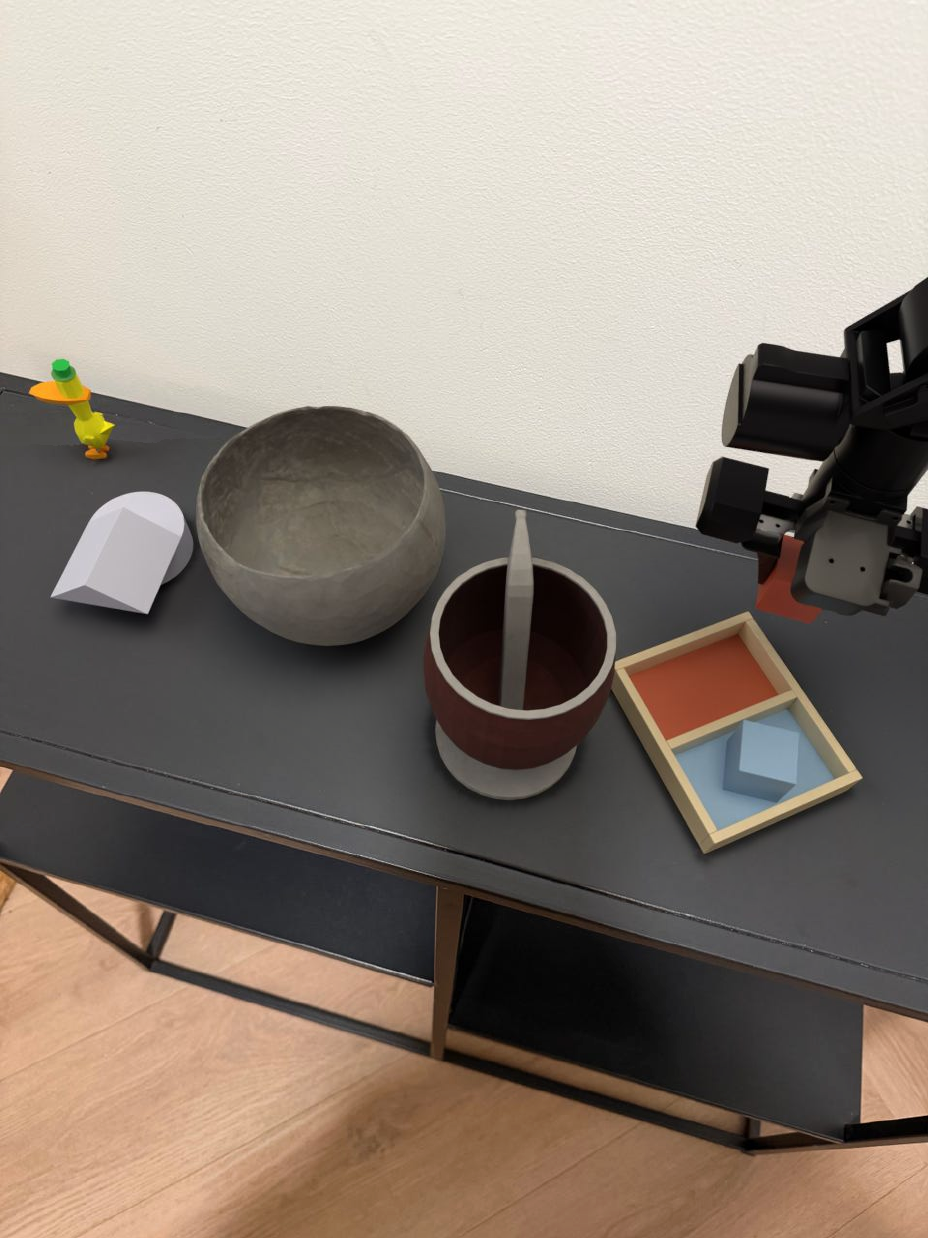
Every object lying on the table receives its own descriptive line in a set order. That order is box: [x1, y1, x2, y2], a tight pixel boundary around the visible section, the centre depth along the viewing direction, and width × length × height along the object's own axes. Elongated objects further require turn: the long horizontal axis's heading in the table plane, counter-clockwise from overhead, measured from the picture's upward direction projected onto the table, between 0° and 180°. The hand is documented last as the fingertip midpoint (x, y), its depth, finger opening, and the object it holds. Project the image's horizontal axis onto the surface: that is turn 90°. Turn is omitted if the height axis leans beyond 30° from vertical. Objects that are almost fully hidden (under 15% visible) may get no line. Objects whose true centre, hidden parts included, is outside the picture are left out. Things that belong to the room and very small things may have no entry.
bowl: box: [195, 405, 447, 647], centre depth 73 cm, size 20×20×15 cm
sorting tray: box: [611, 611, 863, 855], centre depth 71 cm, size 14×17×3 cm
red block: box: [755, 534, 823, 625], centre depth 67 cm, size 4×4×4 cm
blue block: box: [723, 720, 799, 802], centre depth 68 cm, size 4×4×4 cm
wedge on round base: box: [50, 491, 194, 615], centre depth 77 cm, size 9×7×13 cm
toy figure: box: [28, 358, 115, 460], centre depth 82 cm, size 7×4×12 cm, turn 87°
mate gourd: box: [422, 509, 617, 801], centre depth 64 cm, size 16×14×20 cm
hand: (790, 587), depth 68 cm, fingers closed on red block, 4 cm apart
